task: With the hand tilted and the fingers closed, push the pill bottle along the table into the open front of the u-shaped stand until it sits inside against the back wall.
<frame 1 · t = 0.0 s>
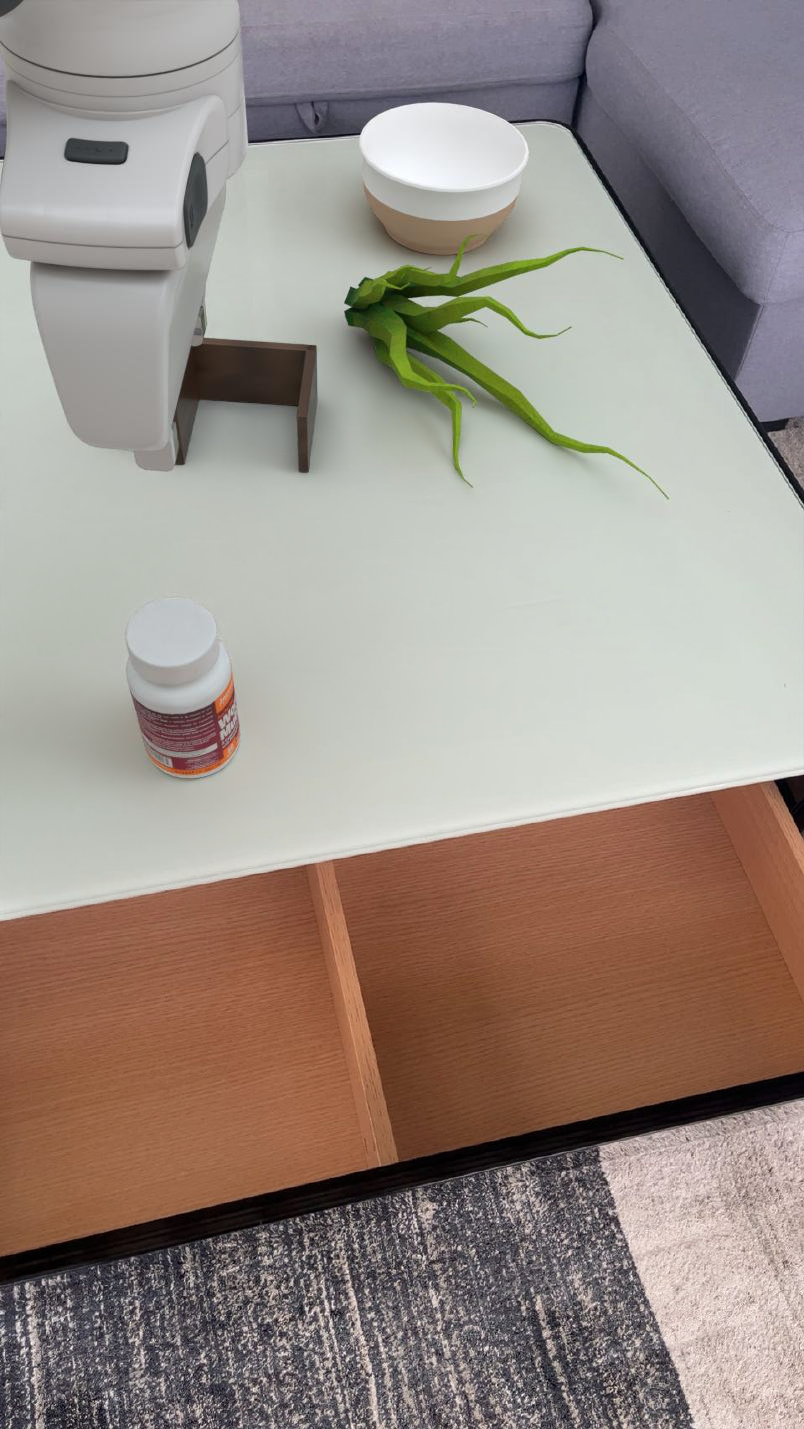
hand: (174, 396, 53), 24 cm above the table, tool pointing down, fingers open, 8 cm apart
u-shaped stand: (249, 426, 87), on the table
pill bottle: (193, 743, 69), on the table
decorative plant: (491, 412, 90), on the table
bowl: (437, 226, 106), on the table
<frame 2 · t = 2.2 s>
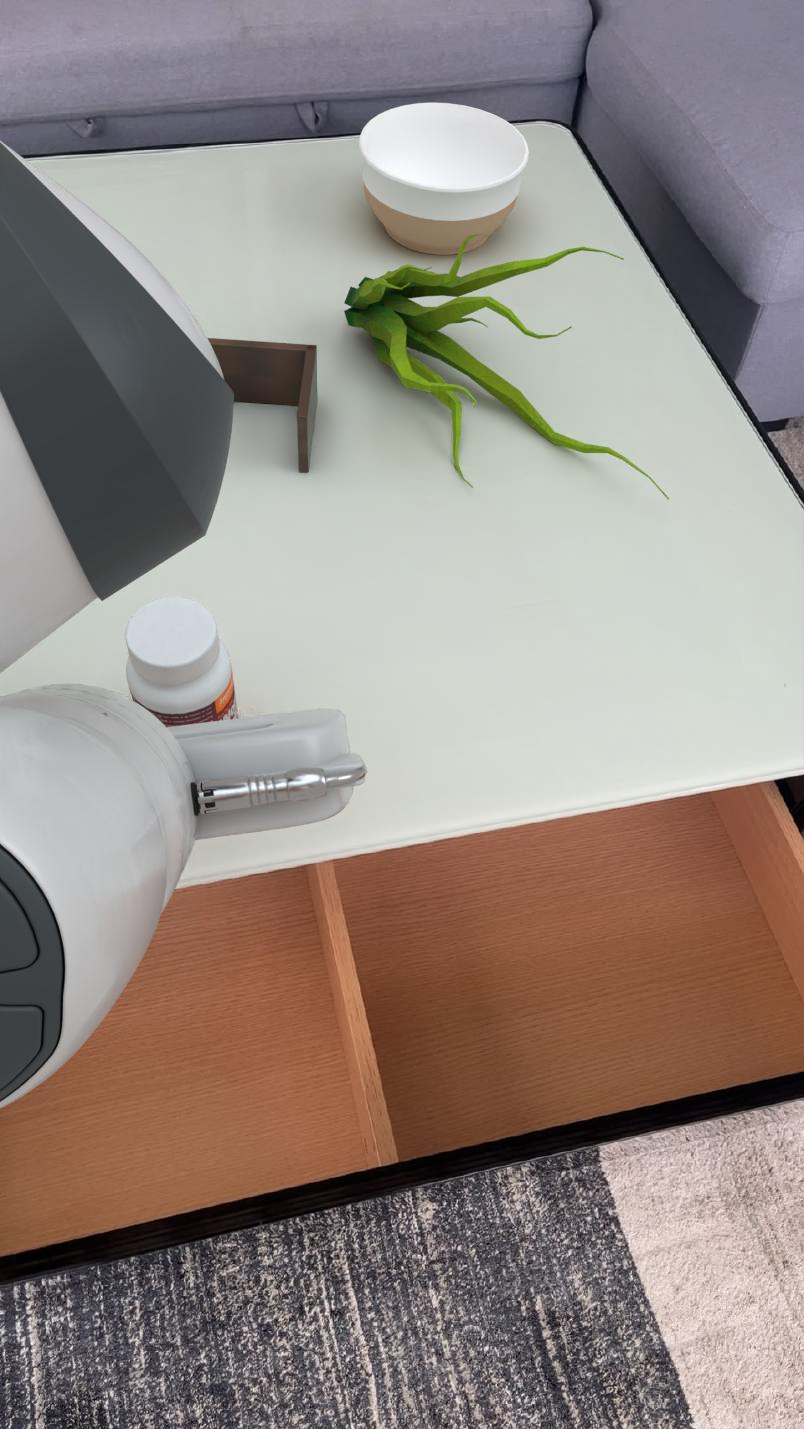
hand: (127, 761, 49), 16 cm above the table, tool tilted 40°, fingers open, 8 cm apart
nothing on the table moved.
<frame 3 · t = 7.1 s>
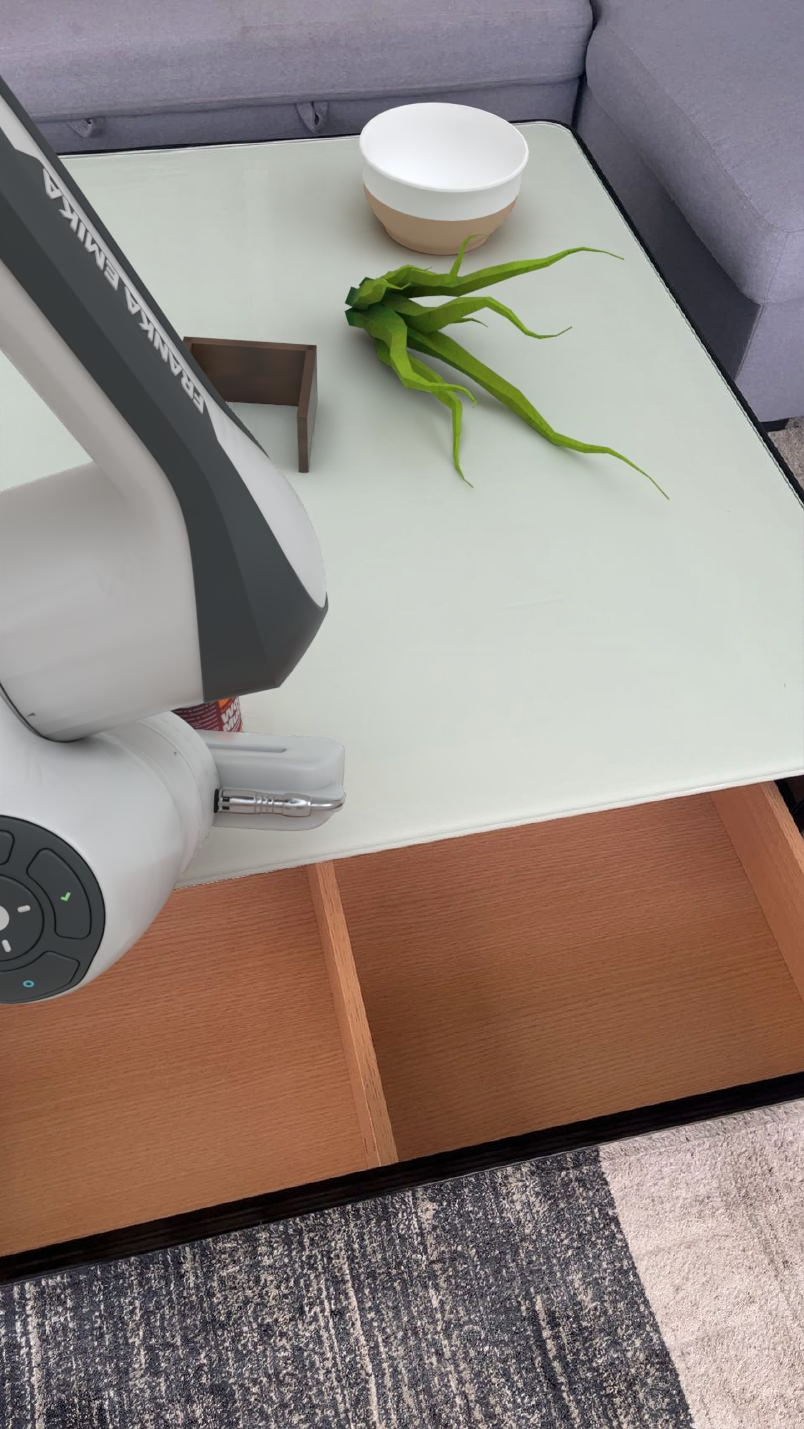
hand: (179, 741, 63), 5 cm above the table, tool tilted 45°, fingers closed, pressing on pill bottle
pill bottle: (196, 738, 69), on the table, touching gripper
everything else where it was.
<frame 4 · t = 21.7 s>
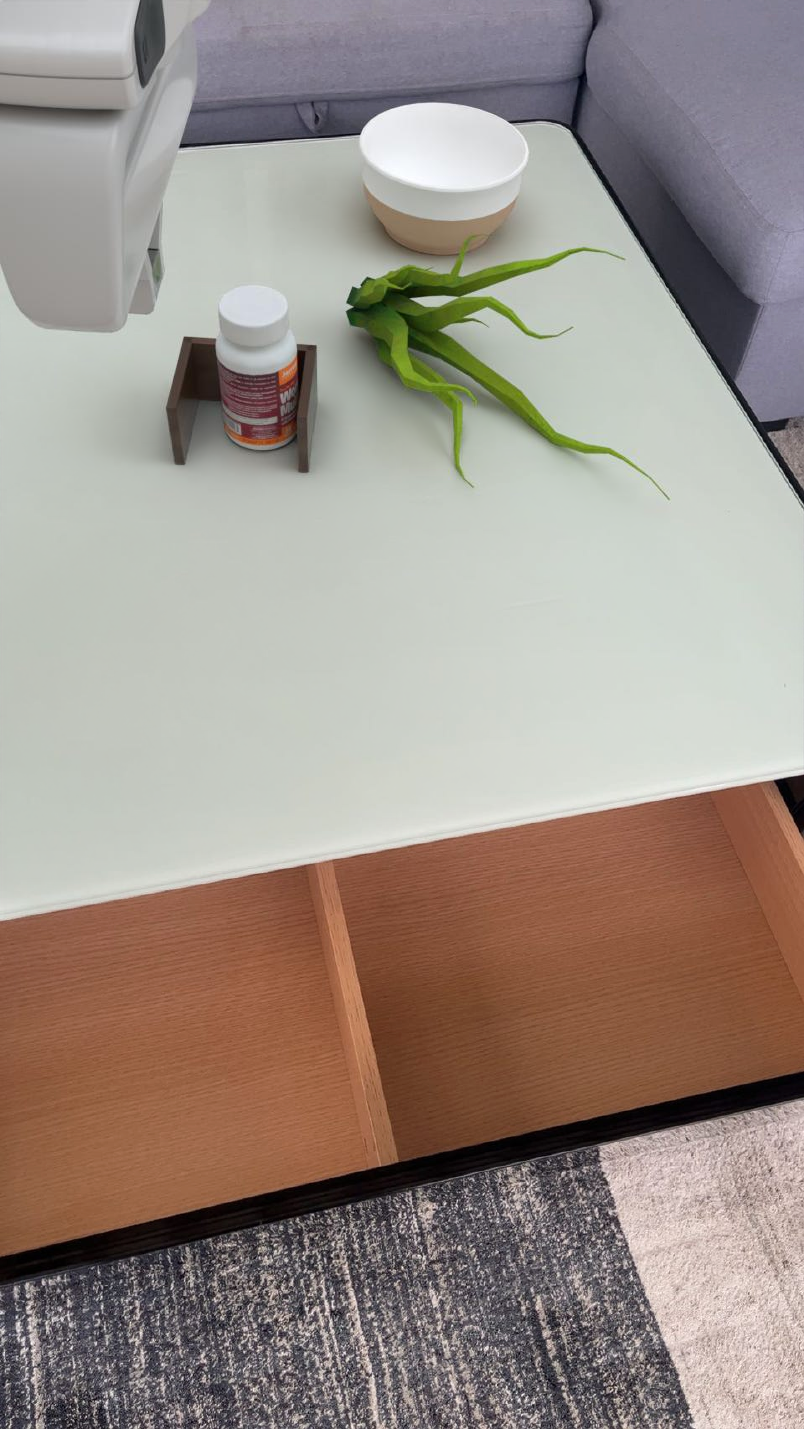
hand: (141, 295, 48), 29 cm above the table, tool pointing down, fingers closed
pill bottle: (262, 430, 87), on the table, touching u-shaped stand
everything else where it was.
at the end: pill bottle inside the target area on the u-shaped stand (1.1 cm from its centre), point 0.0 cm above the u-shaped stand's base; pill bottle tilted 0°; the gripper is holding nothing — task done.
